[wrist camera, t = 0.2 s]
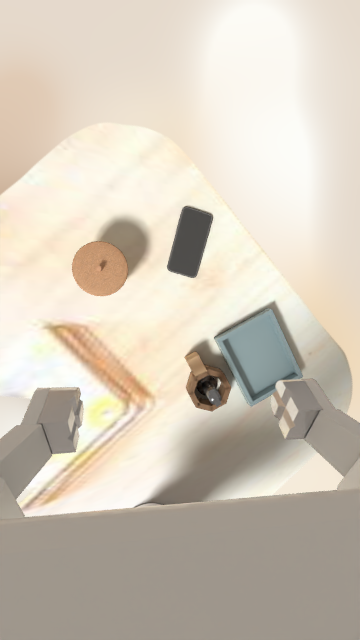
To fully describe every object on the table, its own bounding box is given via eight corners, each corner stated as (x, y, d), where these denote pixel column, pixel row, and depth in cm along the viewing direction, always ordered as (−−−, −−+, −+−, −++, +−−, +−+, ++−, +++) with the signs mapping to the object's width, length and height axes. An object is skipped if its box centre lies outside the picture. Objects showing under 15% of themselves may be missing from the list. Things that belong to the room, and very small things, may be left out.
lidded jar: (137, 282, 64) (136, 281, 54) (95, 303, 63) (86, 305, 54) (116, 239, 62) (111, 230, 53) (71, 259, 61) (58, 254, 52)
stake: (219, 388, 69) (231, 403, 59) (201, 398, 68) (211, 415, 59) (210, 371, 68) (221, 384, 59) (192, 381, 68) (200, 395, 58)
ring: (231, 391, 69) (236, 397, 65) (198, 409, 69) (201, 417, 65) (206, 344, 67) (210, 348, 63) (172, 363, 67) (174, 368, 63)
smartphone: (165, 270, 64) (183, 204, 62) (165, 270, 65) (182, 206, 63) (196, 278, 65) (214, 215, 63) (195, 279, 66) (213, 215, 64)
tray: (297, 373, 71) (303, 376, 69) (247, 402, 70) (251, 406, 68) (267, 308, 68) (271, 309, 66) (213, 337, 67) (216, 339, 65)
